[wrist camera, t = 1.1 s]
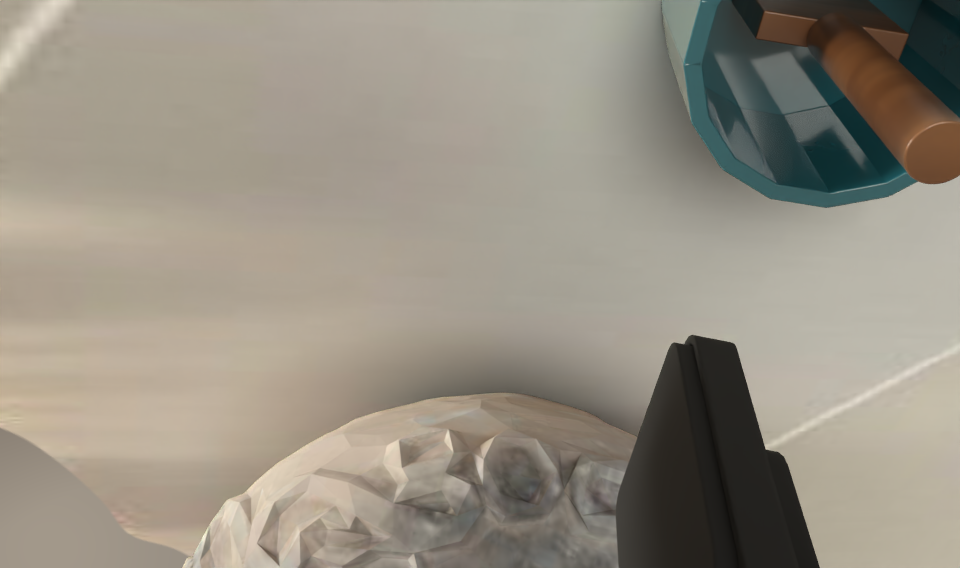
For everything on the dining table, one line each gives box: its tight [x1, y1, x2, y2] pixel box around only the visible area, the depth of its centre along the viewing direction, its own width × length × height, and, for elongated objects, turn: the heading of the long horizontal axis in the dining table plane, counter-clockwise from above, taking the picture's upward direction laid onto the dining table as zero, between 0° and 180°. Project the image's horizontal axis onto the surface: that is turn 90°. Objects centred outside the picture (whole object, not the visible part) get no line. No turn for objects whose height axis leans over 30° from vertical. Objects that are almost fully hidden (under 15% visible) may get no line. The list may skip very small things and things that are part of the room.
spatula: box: [732, 0, 960, 184], centre depth 33 cm, size 2×6×18 cm, turn 82°
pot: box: [661, 0, 960, 208], centre depth 37 cm, size 12×12×10 cm
